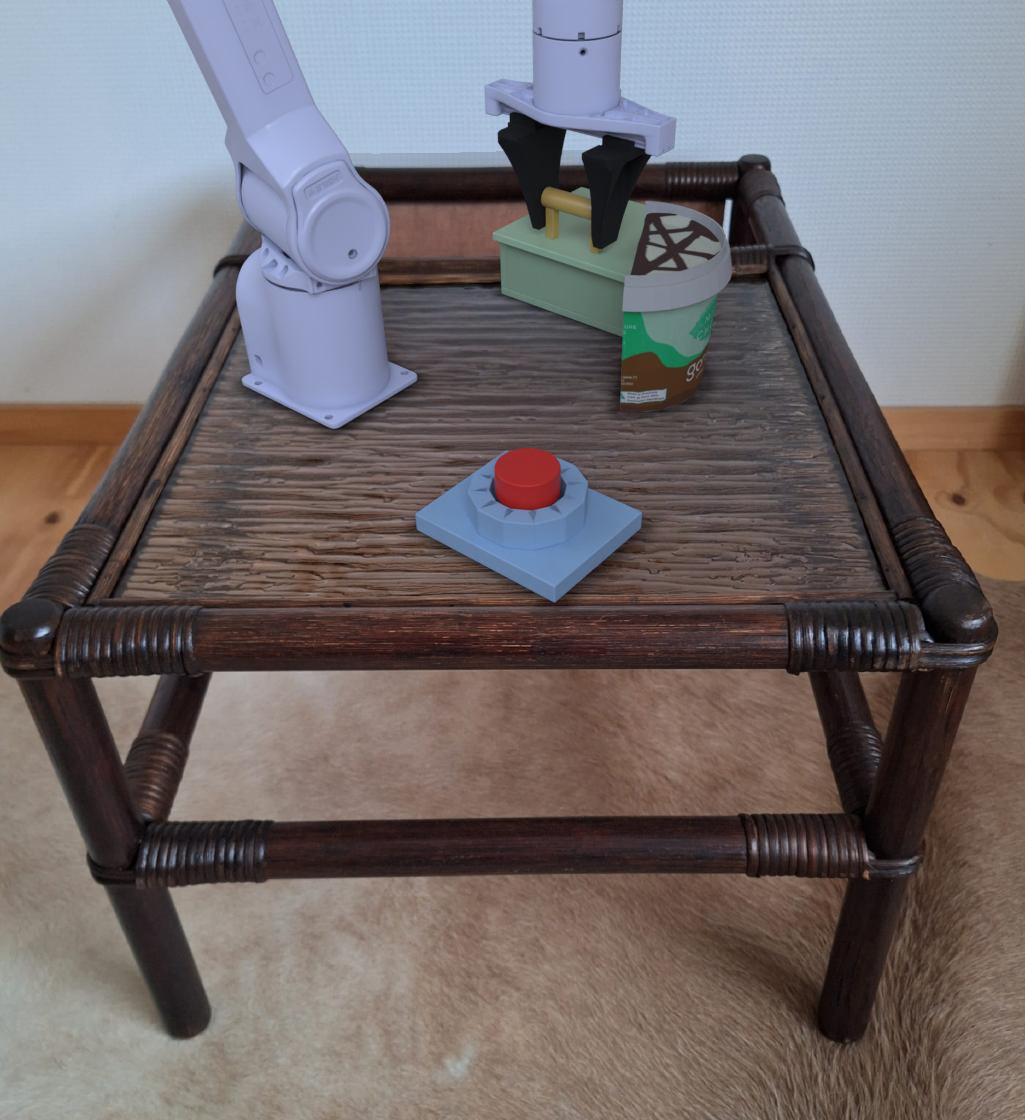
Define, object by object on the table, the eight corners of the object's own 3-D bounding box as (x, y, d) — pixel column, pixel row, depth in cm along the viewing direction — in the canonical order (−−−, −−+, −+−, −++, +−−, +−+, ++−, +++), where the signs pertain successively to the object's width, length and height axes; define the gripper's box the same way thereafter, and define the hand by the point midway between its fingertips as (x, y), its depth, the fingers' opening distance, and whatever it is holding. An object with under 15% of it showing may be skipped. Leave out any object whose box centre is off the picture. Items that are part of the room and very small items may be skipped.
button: (481, 495, 59) (480, 469, 58) (523, 465, 61) (522, 440, 60) (532, 520, 57) (532, 494, 56) (573, 488, 59) (574, 462, 58)
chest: (630, 340, 77) (633, 280, 74) (501, 293, 83) (499, 237, 80) (706, 288, 83) (712, 231, 80) (580, 248, 89) (581, 194, 86)
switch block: (416, 530, 61) (411, 487, 59) (506, 465, 66) (504, 424, 64) (554, 603, 56) (554, 560, 54) (641, 528, 61) (644, 485, 59)
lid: (627, 284, 74) (630, 225, 71) (492, 239, 80) (490, 184, 77) (712, 231, 80) (717, 175, 77) (581, 193, 86) (582, 140, 83)
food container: (713, 433, 68) (730, 286, 61) (616, 424, 69) (623, 279, 62) (724, 338, 77) (739, 202, 71) (638, 332, 78) (646, 197, 72)
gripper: (708, 32, 67) (690, 240, 76) (528, 0, 74) (531, 193, 83) (644, 59, 63) (633, 275, 72) (460, 22, 70) (470, 223, 79)
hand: (574, 234), depth 77 cm, fingers closed on lid, 5 cm apart
